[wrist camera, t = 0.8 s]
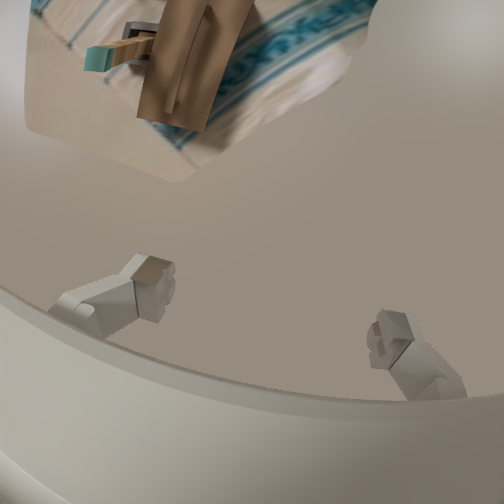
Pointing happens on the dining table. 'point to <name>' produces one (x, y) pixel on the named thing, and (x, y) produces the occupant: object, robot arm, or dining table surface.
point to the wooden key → (118, 52)
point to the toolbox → (187, 59)
